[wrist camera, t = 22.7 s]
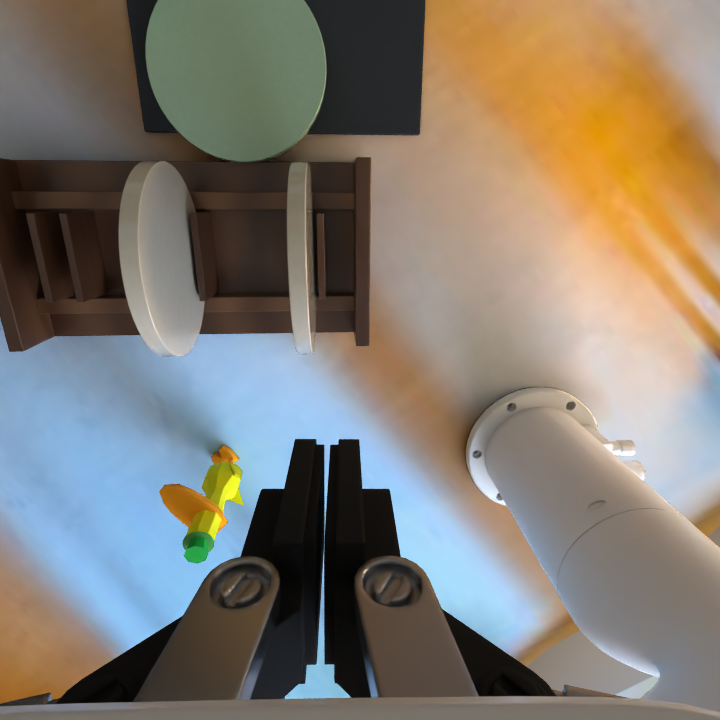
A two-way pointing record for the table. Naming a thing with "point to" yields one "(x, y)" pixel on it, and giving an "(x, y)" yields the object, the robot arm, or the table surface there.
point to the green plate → (237, 73)
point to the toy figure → (205, 504)
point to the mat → (338, 66)
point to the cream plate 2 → (301, 257)
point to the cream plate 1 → (160, 258)
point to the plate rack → (210, 241)
